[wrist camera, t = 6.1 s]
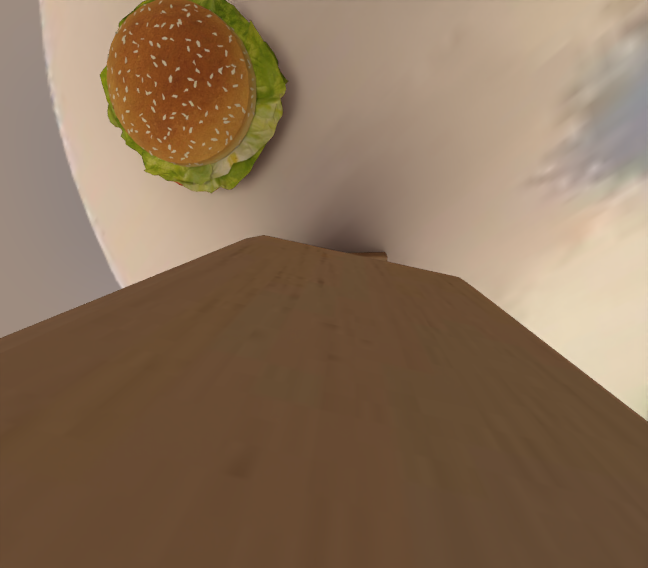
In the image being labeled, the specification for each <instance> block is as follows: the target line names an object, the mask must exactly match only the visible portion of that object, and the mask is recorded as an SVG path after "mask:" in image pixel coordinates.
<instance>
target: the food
mask: <svg viewBox="0 0 648 568" xmlns="http://www.w3.org/2000/svg"><path fill="white" fill-rule="evenodd" d="M100 77H101V81H102V85H103V88H104V92H105V95H106V99H107V102H108V103H109V105H108V117H109V120H110V122H111V123H112V124H113V125H114V126H115V127H119V128H121V130H122V131H123V132H122V134H121V137H122V138H123V139H124V140H125V141H126V145H128V146H129V147H130V148H132V149H134V150H136V151H137V152H138V153H139V154H140V155H141V156H142V159H143V162H144V165H145V168H146V170H144V171H146V172H148V173H150V174H152V175H159V176H161V177H162V178H164V179H165V180H167V181H174V182H176V183H178V184H179V185H182V186H184V187H186V188H188V189H190V190H192V191H196V192H198V191H207V192H210V193H212V192H214V191H215V190H217V189H218V188H219V187H222V188H225V189H227V190H230V189H233V188H234V187H235V186H236V185H237V184H238V183H239V182H240V181H241V180H242V179H243V178H244V177H245V176H246V175H247V174H248V173H249V172H250V171H251V169H252V167H253V165H254V163H255V161H256V160H257V158H258V157H259V155H260V153H261V152H262V150H263V148H264V147H265V145H266V144H267V142H268V141H269V140H270V139H271V138H272V137H273V135H274V133H275V129H276V125H277V123H278V121H279V119H280V118H281V117H282V114H283V108H282V103H281V99H280V98H281V97H282V96H283V95H284V94H285V91H286V86H285V84H286V83H287V82H288V80H287V79H286V78H285V77H284V76H283V75H282V73H281V72H280V69H279V67H278V60H277V58H276V56H275V54H274V52H273V51H272V50H271V48H270V47H269V46H268V44H267V43H266V42H264V41H263V40H262V38H261V36H260V35H259V33H258V32H257V30H256V29H255V27H254V25H253V24H252V21H251V20H250V23H249V22H248V21H247V20H246V19H245V18H244V17H243V16H242V15H241V14H240V13H239V11H238V10H237V9H236V8H235V6H234V5H232V4H230V3H228V2H227V1H226V0H146V1H144V2H142V3H141V4H139V5H138V6H137V7H136V8H135V9H134V11H132V12H131V13H130V14H128V15H127V16H126V17H124V18H123V19H122V20H121V21H120V23H119V29H118V31H117V32H116V35H115V37H114V39H113V41H112V44H111V47H110V51H109V54H108V61H107V66H106V67H105V68H104V69H103V71H102V72H101V74H100Z"/></svg>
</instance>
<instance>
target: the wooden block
mask: <svg viewBox="0 0 648 568" xmlns="http://www.w3.org/2000/svg"><path fill="white" fill-rule="evenodd" d="M0 568H648V422H647V421H646V420H645V419H644V418H642V417H641V416H640V415H638V414H637V413H636V412H634V411H633V410H632V409H631V408H629V407H628V406H627V405H625V404H624V403H623V402H622V401H620V400H619V399H618V398H616V397H615V396H614V395H612V394H611V393H610V392H609V391H607V390H606V389H605V388H603V387H602V386H601V385H599V384H598V383H597V382H596V381H594V380H593V379H592V378H590V377H589V376H588V375H587V374H585V373H584V372H583V371H581V370H580V369H579V368H577V367H576V366H575V365H574V364H572V363H571V362H570V361H568V360H567V359H566V358H564V357H563V356H562V355H561V354H559V353H558V352H557V351H555V350H554V349H553V348H551V347H550V346H549V345H548V344H546V343H545V342H544V341H542V340H541V339H540V338H539V337H537V336H536V335H535V334H533V333H532V332H531V331H529V330H528V329H527V328H526V327H524V326H523V325H522V324H520V323H519V322H518V321H516V320H515V319H514V318H513V317H511V316H510V315H509V314H507V313H506V312H505V311H504V310H502V309H501V308H500V307H498V306H497V305H496V304H494V303H493V302H492V301H491V300H489V299H488V298H487V297H485V296H484V295H483V294H481V293H480V292H479V291H478V290H476V289H475V288H474V287H472V286H471V285H469V284H468V283H467V282H465V281H464V280H462V279H461V278H459V277H456V276H451V275H446V274H442V273H437V272H432V271H428V270H423V269H418V268H414V267H409V266H405V265H400V264H395V263H391V262H386V261H381V260H377V259H372V258H367V257H363V256H358V255H353V254H349V253H344V252H340V251H335V250H330V249H326V248H321V247H316V246H312V245H307V244H302V243H298V242H293V241H288V240H284V239H279V238H275V237H270V236H265V235H262V236H257V237H252V238H247V239H244V240H241V241H239V242H236V243H234V244H231V245H229V246H227V247H224V248H222V249H219V250H217V251H214V252H212V253H209V254H207V255H204V256H202V257H199V258H197V259H194V260H192V261H190V262H187V263H185V264H182V265H180V266H177V267H175V268H172V269H170V270H167V271H165V272H162V273H160V274H157V275H155V276H153V277H150V278H148V279H145V280H143V281H140V282H138V283H135V284H133V285H130V286H128V287H125V288H123V289H121V290H118V291H116V292H113V293H111V294H108V295H106V296H104V297H101V298H98V299H96V300H93V301H91V302H89V303H86V304H84V305H81V306H79V307H76V308H74V309H71V310H69V311H66V312H64V313H61V314H59V315H56V316H54V317H51V318H49V319H47V320H44V321H42V322H39V323H37V324H34V325H32V326H29V327H27V328H24V329H22V330H19V331H17V332H14V333H12V334H10V335H7V336H5V337H2V338H0Z"/></svg>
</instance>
